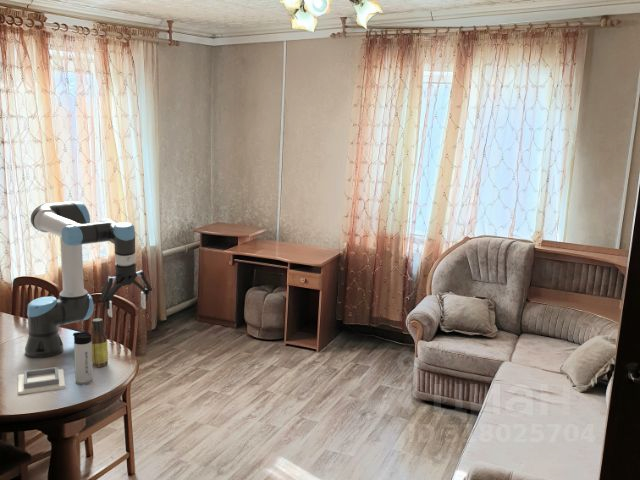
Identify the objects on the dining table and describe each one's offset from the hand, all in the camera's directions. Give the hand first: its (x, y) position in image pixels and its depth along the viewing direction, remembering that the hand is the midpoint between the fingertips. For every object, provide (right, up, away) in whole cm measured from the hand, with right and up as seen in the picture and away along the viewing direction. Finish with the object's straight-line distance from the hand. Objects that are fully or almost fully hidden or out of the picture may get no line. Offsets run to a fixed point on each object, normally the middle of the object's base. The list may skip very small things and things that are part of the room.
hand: (127, 311), depth 236 cm
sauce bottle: (-16, -24, +13) cm, 32 cm away
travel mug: (-16, -27, -3) cm, 32 cm away
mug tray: (-32, -27, -5) cm, 42 cm away
